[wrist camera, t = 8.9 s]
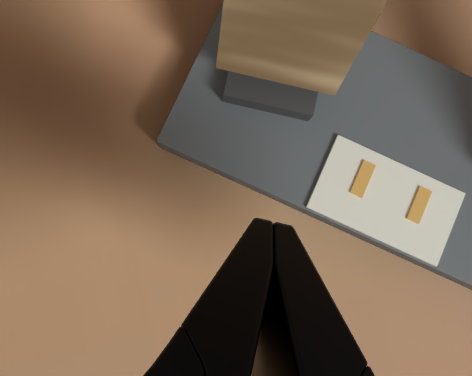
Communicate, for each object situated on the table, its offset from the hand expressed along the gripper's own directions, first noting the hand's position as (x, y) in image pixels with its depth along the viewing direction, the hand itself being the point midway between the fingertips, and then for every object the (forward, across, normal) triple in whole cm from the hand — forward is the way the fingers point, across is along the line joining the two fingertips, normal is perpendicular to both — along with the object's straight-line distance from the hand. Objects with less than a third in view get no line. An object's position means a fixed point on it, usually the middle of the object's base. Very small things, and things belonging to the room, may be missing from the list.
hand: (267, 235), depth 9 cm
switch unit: (+12, -7, +4) cm, 14 cm away
